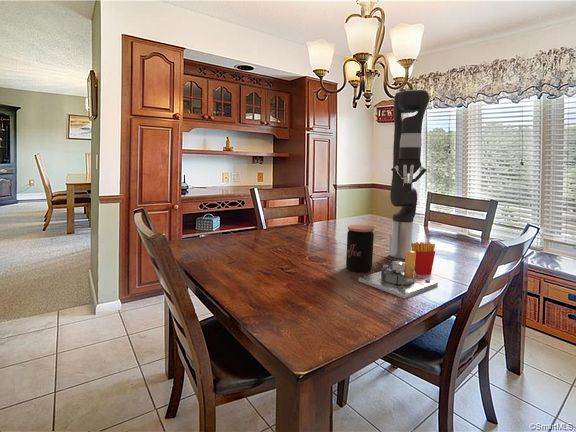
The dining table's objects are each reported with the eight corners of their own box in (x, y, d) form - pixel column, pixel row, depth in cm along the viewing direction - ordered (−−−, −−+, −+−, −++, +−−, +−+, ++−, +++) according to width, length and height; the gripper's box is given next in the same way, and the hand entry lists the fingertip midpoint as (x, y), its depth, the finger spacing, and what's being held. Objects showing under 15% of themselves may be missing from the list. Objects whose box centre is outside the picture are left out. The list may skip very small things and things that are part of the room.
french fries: (430, 272, 141) (433, 241, 139) (434, 275, 137) (437, 243, 135) (408, 271, 142) (410, 240, 140) (410, 274, 138) (413, 243, 136)
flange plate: (358, 281, 130) (359, 260, 128) (392, 271, 141) (393, 252, 140) (404, 298, 114) (405, 275, 113) (437, 286, 125) (439, 265, 124)
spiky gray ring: (378, 274, 133) (380, 240, 130) (407, 274, 133) (409, 240, 131) (393, 290, 116) (395, 252, 114) (426, 290, 116) (429, 252, 114)
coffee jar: (341, 266, 147) (342, 225, 144) (362, 264, 151) (364, 223, 148) (354, 274, 137) (356, 230, 134) (377, 271, 141) (379, 228, 138)
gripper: (390, 146, 126) (387, 193, 129) (429, 145, 121) (425, 194, 124) (393, 146, 133) (390, 191, 136) (430, 146, 128) (426, 193, 131)
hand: (407, 193), depth 130 cm, fingers closed
